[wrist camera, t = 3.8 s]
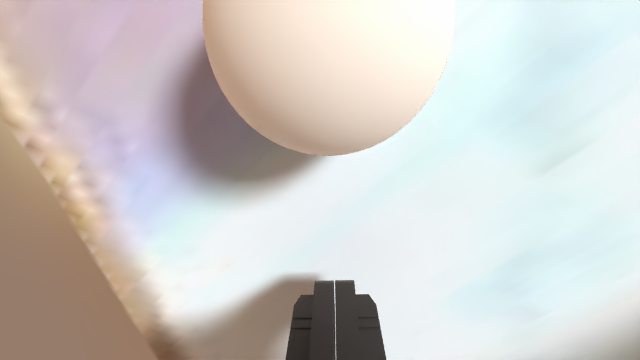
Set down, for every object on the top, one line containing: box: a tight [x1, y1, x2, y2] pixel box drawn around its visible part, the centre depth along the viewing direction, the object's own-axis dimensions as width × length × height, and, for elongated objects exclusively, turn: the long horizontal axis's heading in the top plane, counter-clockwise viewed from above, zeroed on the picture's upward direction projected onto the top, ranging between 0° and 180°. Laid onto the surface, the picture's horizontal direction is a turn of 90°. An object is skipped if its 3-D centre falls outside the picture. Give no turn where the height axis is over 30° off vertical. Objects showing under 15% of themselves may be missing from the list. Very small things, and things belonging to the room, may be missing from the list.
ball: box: [203, 0, 455, 156], centre depth 7 cm, size 6×6×6 cm
